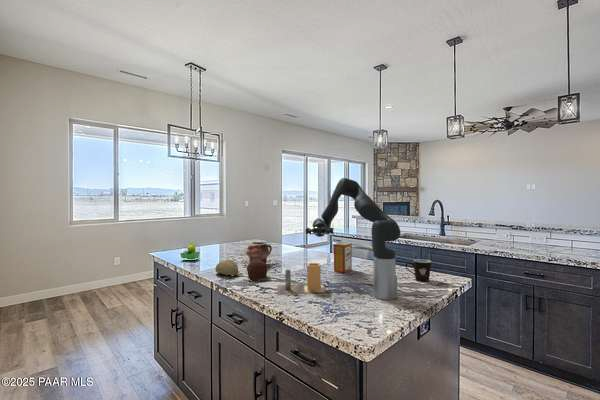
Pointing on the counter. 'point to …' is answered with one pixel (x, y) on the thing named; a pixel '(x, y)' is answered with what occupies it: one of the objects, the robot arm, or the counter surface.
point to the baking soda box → (342, 257)
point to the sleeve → (313, 276)
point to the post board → (296, 287)
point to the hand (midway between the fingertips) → (318, 232)
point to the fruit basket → (190, 252)
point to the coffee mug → (421, 269)
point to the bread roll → (227, 267)
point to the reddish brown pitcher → (258, 251)
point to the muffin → (257, 270)
